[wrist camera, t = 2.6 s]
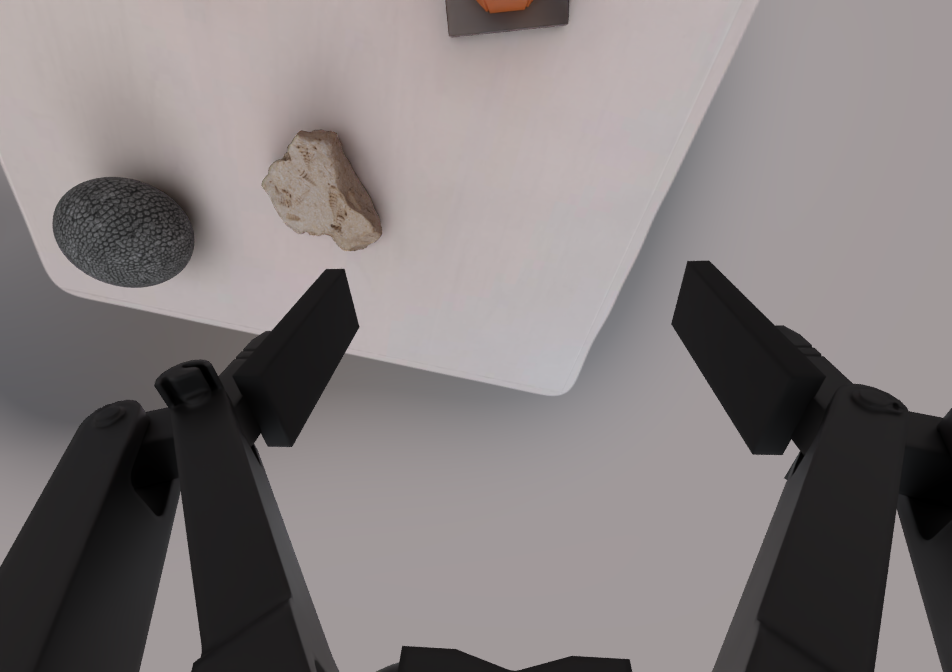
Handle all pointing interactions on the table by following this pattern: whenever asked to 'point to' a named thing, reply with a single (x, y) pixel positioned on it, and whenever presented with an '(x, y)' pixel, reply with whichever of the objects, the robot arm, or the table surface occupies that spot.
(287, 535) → the robot arm
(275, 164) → the stone
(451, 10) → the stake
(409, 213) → the table surface
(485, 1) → the orange octagonal sleeve
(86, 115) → the table surface
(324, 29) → the table surface
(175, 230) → the decorative ball
